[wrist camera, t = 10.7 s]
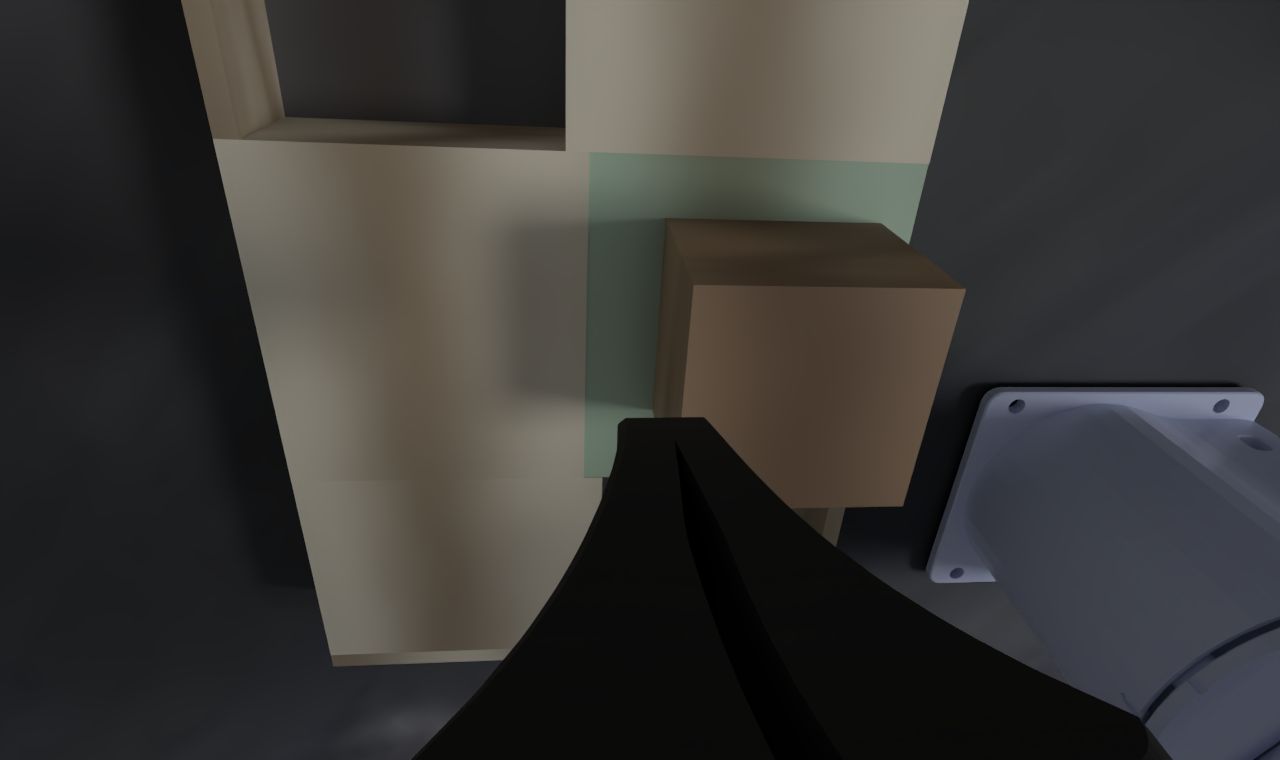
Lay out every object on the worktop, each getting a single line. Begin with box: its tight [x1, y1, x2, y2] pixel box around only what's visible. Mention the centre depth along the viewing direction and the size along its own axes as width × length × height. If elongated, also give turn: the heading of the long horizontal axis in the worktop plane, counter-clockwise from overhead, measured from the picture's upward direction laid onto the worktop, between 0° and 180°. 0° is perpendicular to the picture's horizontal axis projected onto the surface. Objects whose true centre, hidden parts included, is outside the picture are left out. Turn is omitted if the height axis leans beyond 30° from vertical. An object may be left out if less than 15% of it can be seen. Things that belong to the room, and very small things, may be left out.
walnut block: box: [653, 218, 966, 508], centre depth 16 cm, size 5×5×4 cm
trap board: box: [181, 0, 969, 666], centre depth 18 cm, size 15×22×3 cm, turn 177°
